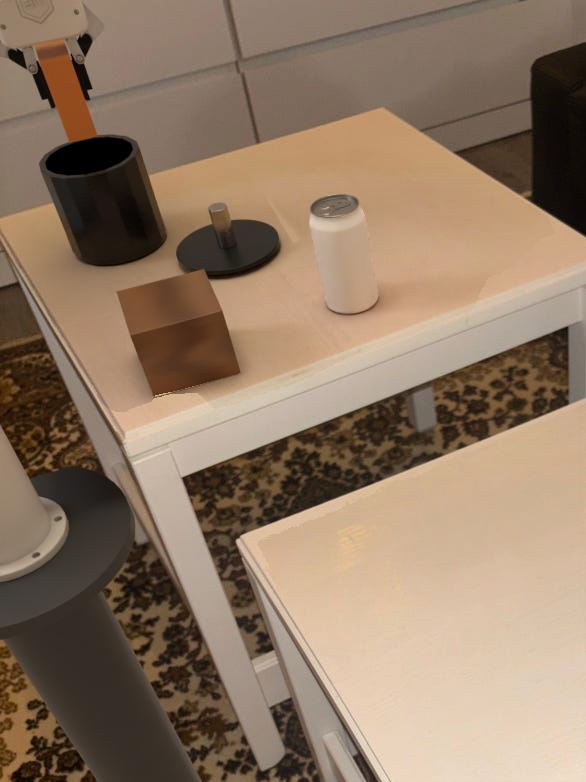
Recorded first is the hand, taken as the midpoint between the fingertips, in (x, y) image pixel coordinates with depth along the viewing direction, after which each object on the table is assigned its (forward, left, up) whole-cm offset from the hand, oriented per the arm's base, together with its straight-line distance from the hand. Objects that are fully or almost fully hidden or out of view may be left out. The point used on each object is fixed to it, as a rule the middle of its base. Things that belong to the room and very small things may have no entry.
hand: (69, 99), depth 121 cm
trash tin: (0, 0, -18) cm, 18 cm away
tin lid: (+13, -11, -18) cm, 25 cm away
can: (+24, -31, -18) cm, 43 cm away
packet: (0, 0, -4) cm, 4 cm away
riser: (+3, -35, -18) cm, 39 cm away
